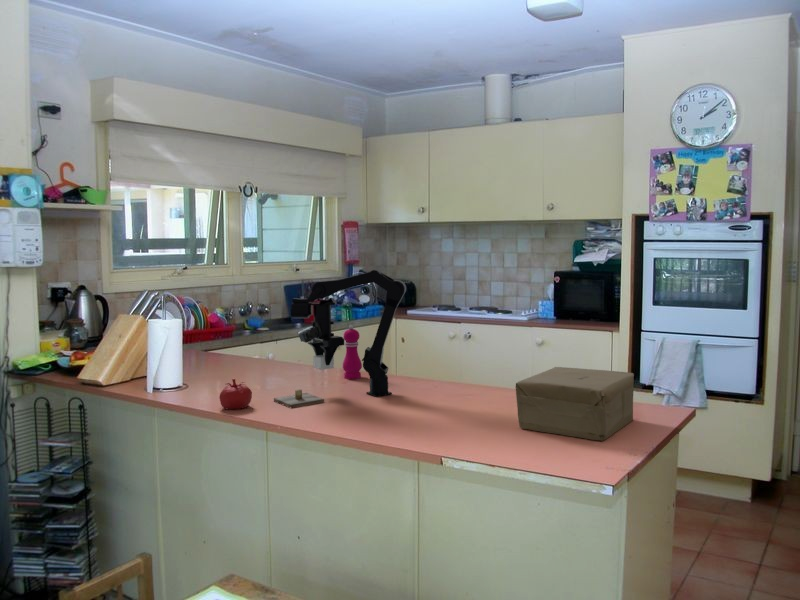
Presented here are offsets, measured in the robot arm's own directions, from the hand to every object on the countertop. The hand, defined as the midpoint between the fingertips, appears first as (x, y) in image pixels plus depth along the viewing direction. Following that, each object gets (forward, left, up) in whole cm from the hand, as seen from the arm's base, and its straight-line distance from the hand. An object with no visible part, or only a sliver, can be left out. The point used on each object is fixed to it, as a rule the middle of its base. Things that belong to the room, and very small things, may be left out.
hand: (323, 364), depth 240 cm
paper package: (-79, -35, -11) cm, 87 cm away
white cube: (0, 0, -1) cm, 1 cm away
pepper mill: (+18, -22, -11) cm, 30 cm away
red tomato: (+2, +31, -11) cm, 33 cm away
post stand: (-4, +12, -10) cm, 16 cm away
